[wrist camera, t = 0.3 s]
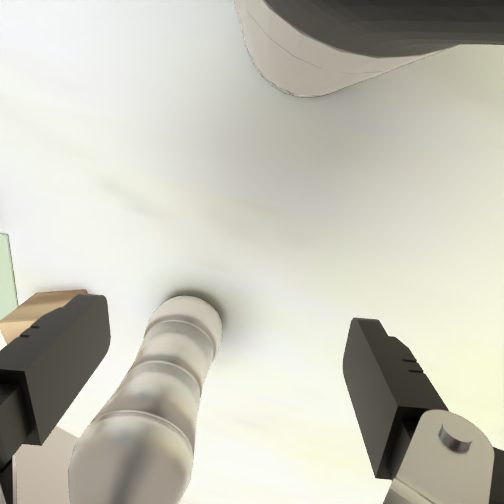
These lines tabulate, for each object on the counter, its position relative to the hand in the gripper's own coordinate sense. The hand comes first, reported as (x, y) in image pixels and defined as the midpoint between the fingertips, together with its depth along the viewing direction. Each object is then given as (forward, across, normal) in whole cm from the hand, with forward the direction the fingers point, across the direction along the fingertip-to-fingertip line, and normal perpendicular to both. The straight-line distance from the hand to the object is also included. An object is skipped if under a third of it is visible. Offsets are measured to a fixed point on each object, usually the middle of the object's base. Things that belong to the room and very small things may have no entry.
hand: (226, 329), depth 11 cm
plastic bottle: (+18, +5, +11) cm, 22 cm away
